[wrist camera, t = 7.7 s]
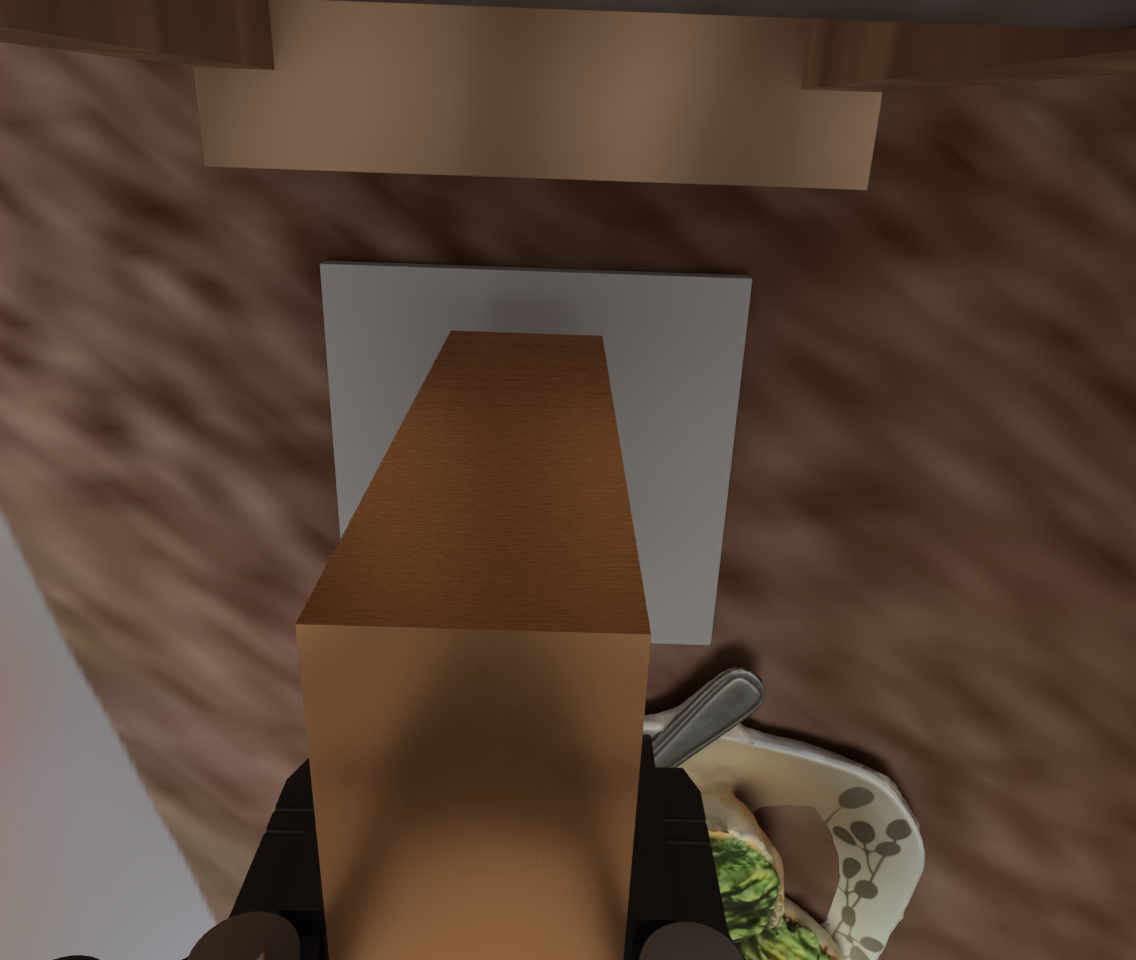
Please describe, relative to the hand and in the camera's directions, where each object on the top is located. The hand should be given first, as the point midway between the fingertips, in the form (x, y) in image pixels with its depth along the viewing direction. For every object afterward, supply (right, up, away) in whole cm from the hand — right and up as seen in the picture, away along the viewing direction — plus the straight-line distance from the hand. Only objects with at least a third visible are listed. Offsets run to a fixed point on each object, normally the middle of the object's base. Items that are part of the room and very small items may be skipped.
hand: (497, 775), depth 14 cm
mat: (0, +5, +13) cm, 14 cm away
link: (0, +3, +8) cm, 9 cm away
